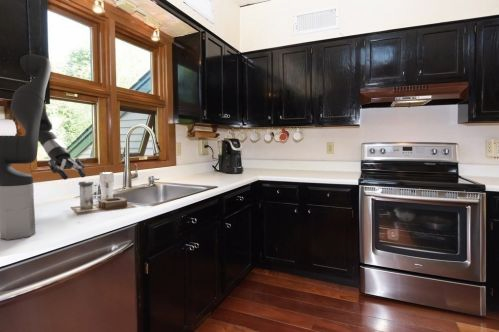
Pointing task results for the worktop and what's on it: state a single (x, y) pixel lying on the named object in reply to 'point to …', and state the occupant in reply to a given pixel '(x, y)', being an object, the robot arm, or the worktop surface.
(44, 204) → the worktop surface
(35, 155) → the robot arm
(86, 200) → the grey mottled cylinder
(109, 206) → the bore block
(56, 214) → the worktop surface
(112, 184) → the beer glass
